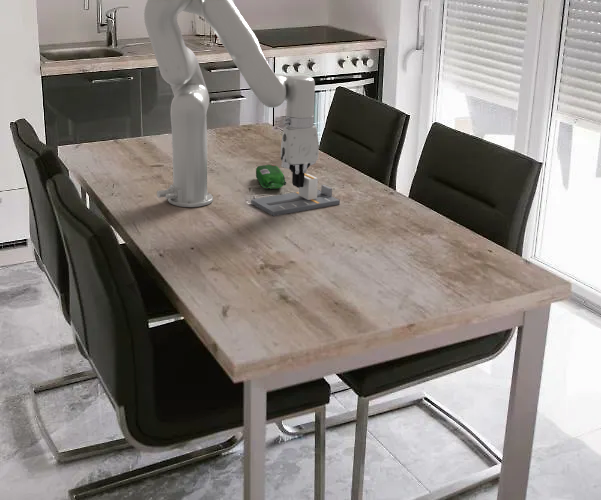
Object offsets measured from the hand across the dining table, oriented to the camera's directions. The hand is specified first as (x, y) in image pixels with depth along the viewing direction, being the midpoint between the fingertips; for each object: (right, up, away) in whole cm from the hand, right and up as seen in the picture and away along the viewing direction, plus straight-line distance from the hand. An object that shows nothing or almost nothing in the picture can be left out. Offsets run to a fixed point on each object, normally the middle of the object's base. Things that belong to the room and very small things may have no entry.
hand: (298, 186), depth 252 cm
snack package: (-8, +1, +18) cm, 20 cm away
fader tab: (+3, -3, +3) cm, 5 cm away
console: (-1, -5, +2) cm, 5 cm away
